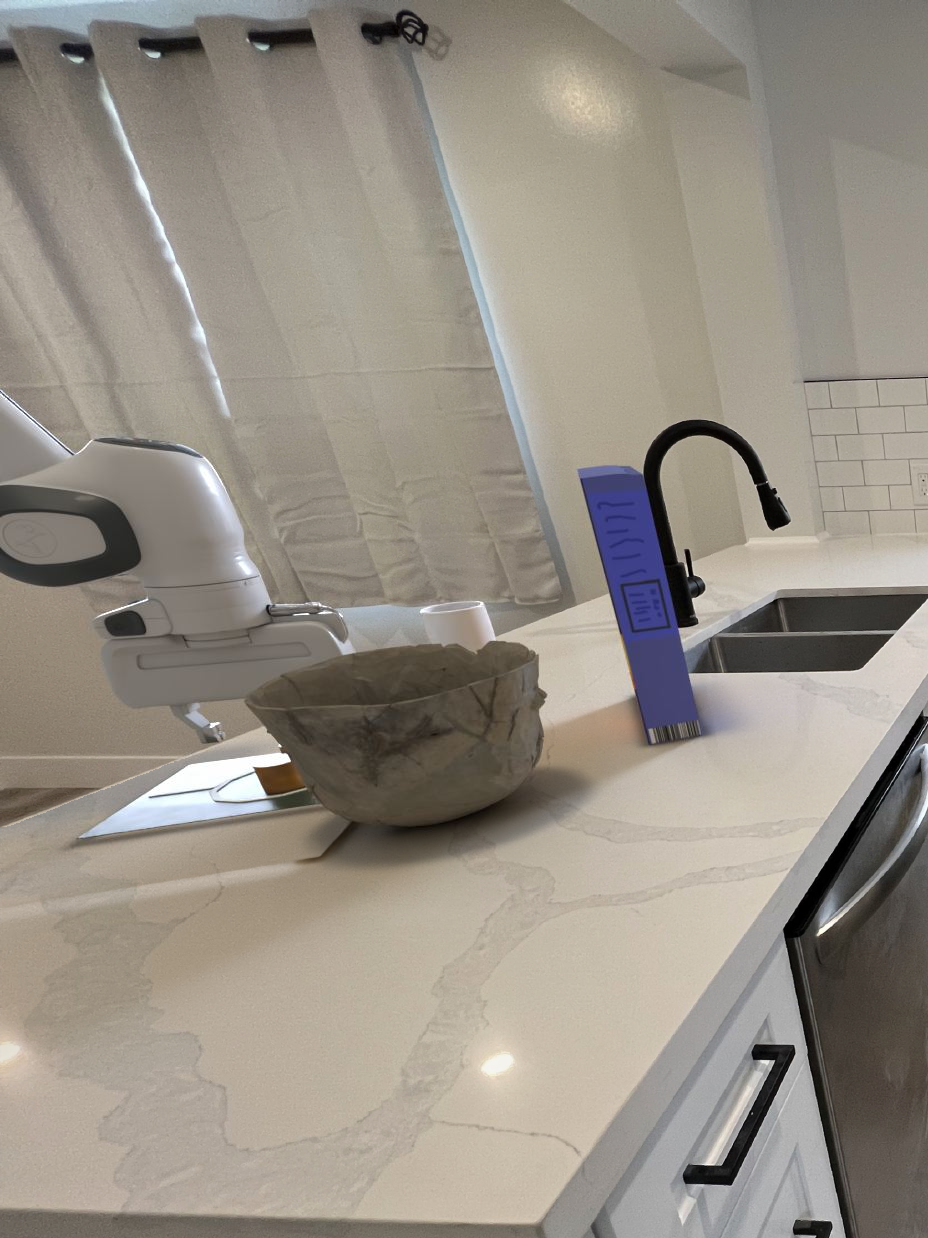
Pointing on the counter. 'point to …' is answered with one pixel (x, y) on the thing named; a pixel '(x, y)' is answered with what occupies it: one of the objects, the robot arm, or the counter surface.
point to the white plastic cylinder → (459, 624)
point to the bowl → (409, 729)
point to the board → (202, 798)
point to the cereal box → (641, 600)
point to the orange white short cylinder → (277, 774)
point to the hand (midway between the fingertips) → (268, 736)
